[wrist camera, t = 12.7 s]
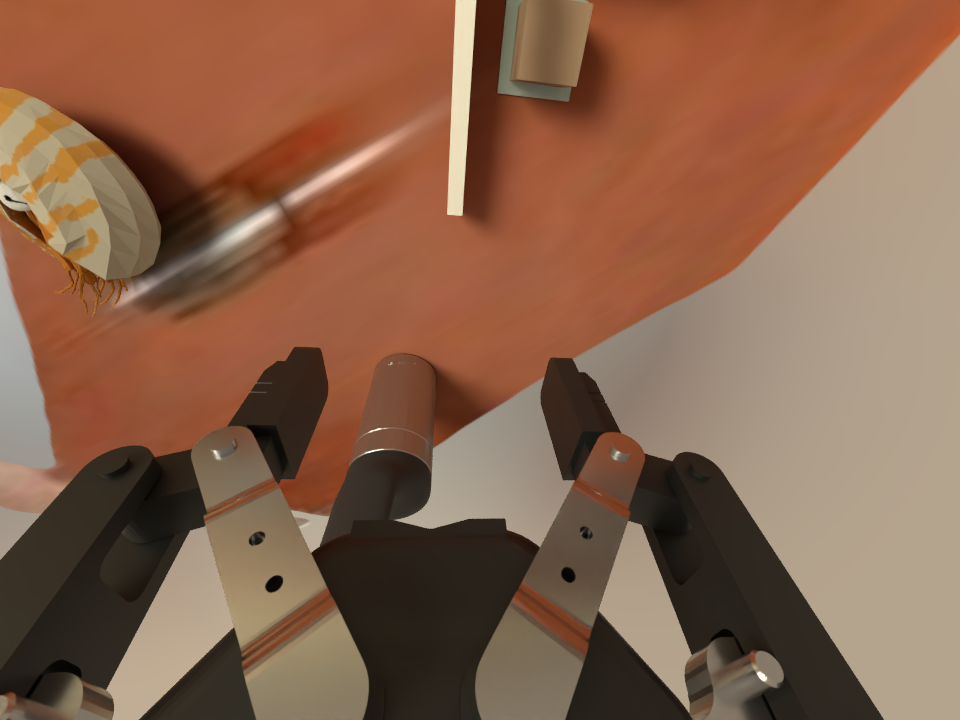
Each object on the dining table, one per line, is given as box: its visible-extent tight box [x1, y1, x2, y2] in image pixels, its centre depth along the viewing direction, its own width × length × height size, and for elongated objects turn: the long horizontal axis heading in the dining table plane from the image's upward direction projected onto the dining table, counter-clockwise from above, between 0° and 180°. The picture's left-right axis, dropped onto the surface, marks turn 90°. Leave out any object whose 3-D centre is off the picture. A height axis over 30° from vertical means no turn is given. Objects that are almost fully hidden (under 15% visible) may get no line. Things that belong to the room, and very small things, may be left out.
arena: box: [447, 0, 589, 216], centre depth 32 cm, size 22×16×5 cm
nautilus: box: [0, 87, 161, 317], centre depth 35 cm, size 8×22×15 cm
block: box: [510, 0, 593, 87], centre depth 30 cm, size 5×5×5 cm
